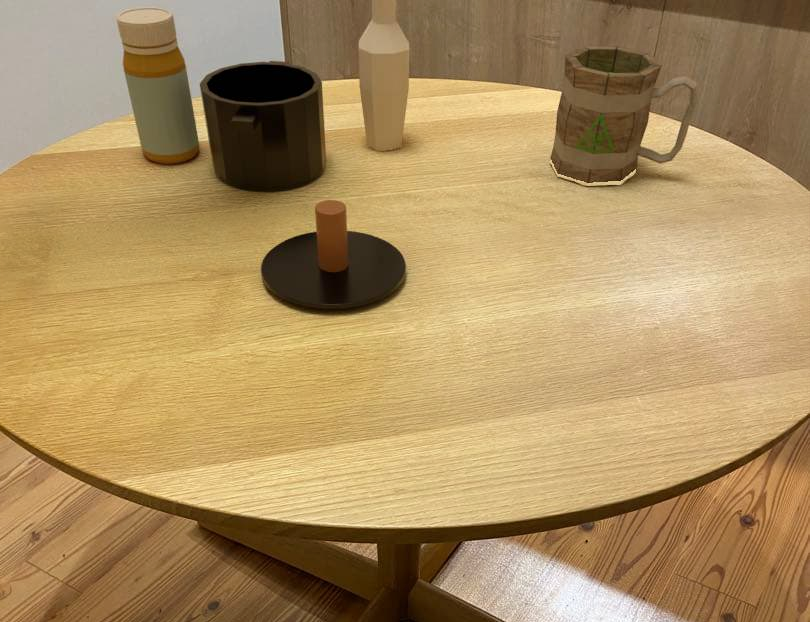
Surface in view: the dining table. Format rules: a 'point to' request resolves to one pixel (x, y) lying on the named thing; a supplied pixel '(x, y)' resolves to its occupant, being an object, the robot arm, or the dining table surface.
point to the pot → (265, 125)
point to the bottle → (158, 85)
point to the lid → (333, 264)
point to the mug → (610, 113)
